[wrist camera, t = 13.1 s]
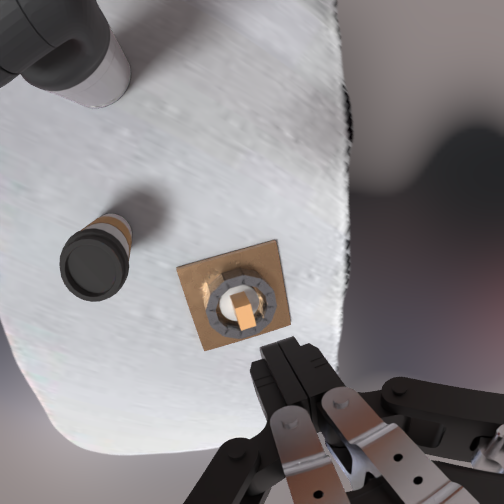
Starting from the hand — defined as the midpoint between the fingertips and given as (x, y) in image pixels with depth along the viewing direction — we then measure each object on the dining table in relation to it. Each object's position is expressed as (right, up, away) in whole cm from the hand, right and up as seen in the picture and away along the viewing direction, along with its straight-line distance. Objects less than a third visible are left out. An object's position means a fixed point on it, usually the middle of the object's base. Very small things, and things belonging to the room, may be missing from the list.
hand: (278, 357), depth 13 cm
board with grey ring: (-4, -3, +40) cm, 41 cm away
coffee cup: (-22, +7, +32) cm, 40 cm away
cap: (-3, -3, +40) cm, 40 cm away
